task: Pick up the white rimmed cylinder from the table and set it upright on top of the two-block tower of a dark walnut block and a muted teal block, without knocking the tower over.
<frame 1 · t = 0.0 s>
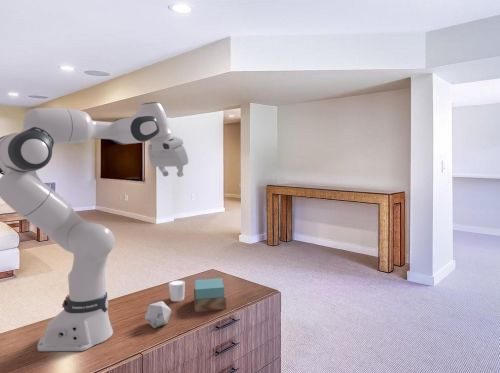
hand: (173, 176, 146), 52 cm above the sideboard, tool tilted 20°, fingers open, 8 cm apart
die: (158, 325, 129), on the sideboard
white rimmed cylinder: (177, 299, 153), on the sideboard
tower top block: (209, 293, 145), point 5 cm above the sideboard, touching tower base block
tower base block: (209, 305, 146), on the sideboard, touching tower top block
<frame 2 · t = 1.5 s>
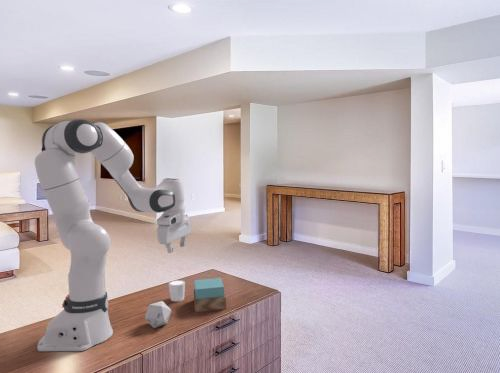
hand: (176, 249, 151), 21 cm above the sideboard, tool pointing down, fingers open, 8 cm apart
tower top block: (209, 293, 146), point 5 cm above the sideboard
tower base block: (209, 305, 146), on the sideboard
everything else where it was.
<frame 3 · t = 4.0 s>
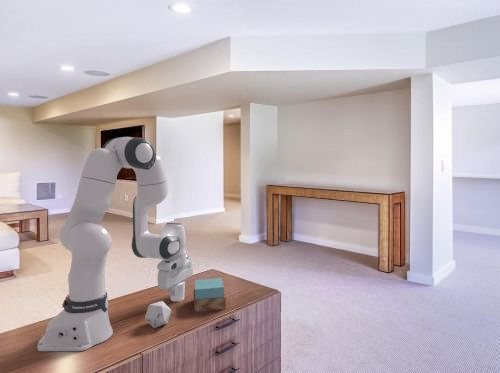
hand: (177, 292, 152), 3 cm above the sideboard, tool pointing down, fingers closed on white rimmed cylinder, 5 cm apart
white rimmed cylinder: (177, 299, 153), on the sideboard, touching gripper
tower top block: (209, 293, 145), point 5 cm above the sideboard, touching tower base block
tower base block: (209, 305, 146), on the sideboard, touching tower top block
everything else where it was.
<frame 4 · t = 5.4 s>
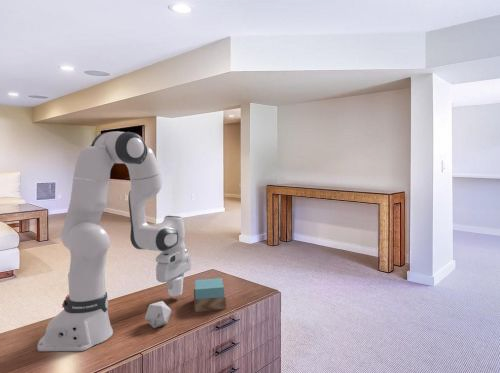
hand: (175, 286, 152), 6 cm above the sideboard, tool pointing down, fingers closed on white rimmed cylinder, 5 cm apart
white rimmed cylinder: (175, 294, 152), point 2 cm above the sideboard, touching gripper
everything else where it was.
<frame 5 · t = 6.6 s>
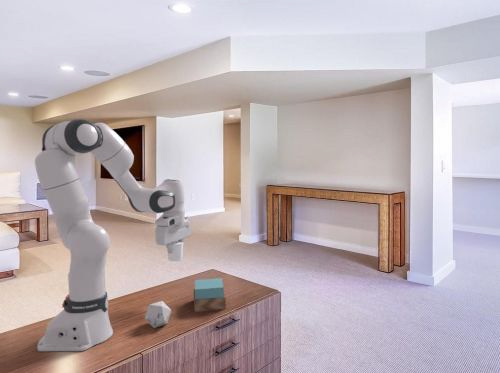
hand: (175, 251, 151), 20 cm above the sideboard, tool pointing down, fingers closed on white rimmed cylinder, 5 cm apart
white rimmed cylinder: (175, 259, 151), point 17 cm above the sideboard, touching gripper
everything else where it was.
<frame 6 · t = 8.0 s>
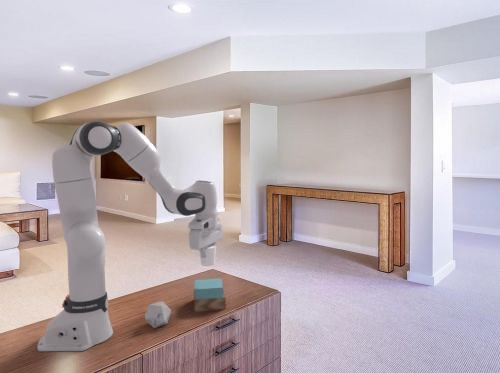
hand: (207, 255, 144), 20 cm above the sideboard, tool pointing down, fingers closed on white rimmed cylinder, 5 cm apart
white rimmed cylinder: (208, 264, 145), point 16 cm above the sideboard, touching gripper
tower top block: (208, 293, 145), point 5 cm above the sideboard
tower base block: (209, 305, 146), on the sideboard
everything else where it was.
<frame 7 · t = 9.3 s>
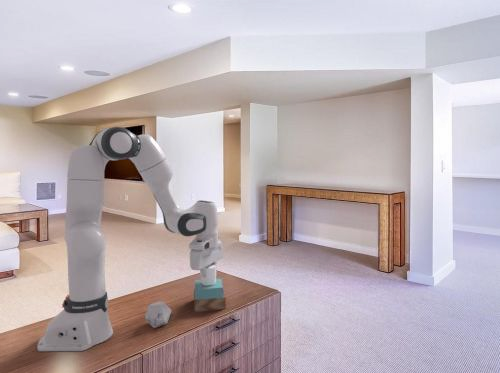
hand: (208, 274, 145), 12 cm above the sideboard, tool pointing down, fingers closed on white rimmed cylinder, 5 cm apart
white rimmed cylinder: (208, 283, 145), point 9 cm above the sideboard, touching gripper
tower top block: (208, 293, 145), point 5 cm above the sideboard, touching tower base block
tower base block: (209, 305, 146), on the sideboard, touching tower top block
everything else where it was.
when the fingers open (12 cm above the sideboard, at t = 9.6 s): white rimmed cylinder stays where it is, resting on tower top block.
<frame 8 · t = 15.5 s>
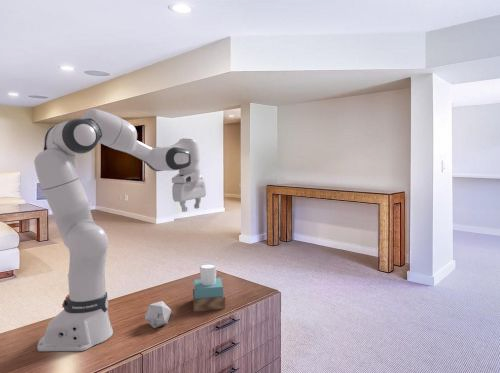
hand: (190, 209, 154), 37 cm above the sideboard, tool pointing down, fingers open, 8 cm apart
white rimmed cylinder: (208, 283, 146), point 8 cm above the sideboard, touching tower top block
tower top block: (208, 292, 146), point 5 cm above the sideboard, touching white rimmed cylinder, tower base block
everything else where it was.
at the end: white rimmed cylinder inside the target area on the tower top block (0.2 cm from its centre), point 3.8 cm above the tower top block's base; white rimmed cylinder tilted 1°; tower top block moved 0.9 cm from its start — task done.
